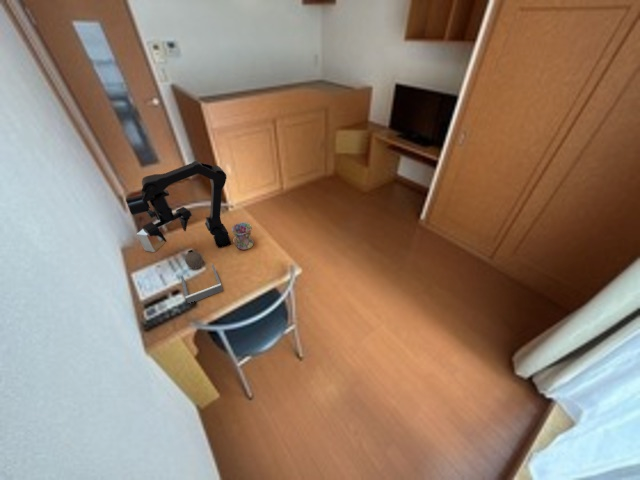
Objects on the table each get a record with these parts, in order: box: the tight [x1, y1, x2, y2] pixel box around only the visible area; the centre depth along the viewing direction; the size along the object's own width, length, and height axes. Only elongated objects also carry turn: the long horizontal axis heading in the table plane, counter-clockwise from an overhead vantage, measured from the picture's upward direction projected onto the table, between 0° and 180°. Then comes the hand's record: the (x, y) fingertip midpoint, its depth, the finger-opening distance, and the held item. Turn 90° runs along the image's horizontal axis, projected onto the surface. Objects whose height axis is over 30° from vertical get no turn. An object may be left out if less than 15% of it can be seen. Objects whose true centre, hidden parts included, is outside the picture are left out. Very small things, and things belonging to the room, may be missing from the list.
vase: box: [185, 249, 204, 270], centre depth 119 cm, size 7×7×9 cm
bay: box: [180, 264, 224, 304], centre depth 111 cm, size 14×14×4 cm
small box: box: [136, 228, 166, 253], centre depth 129 cm, size 8×6×10 cm
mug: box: [231, 222, 255, 251], centre depth 129 cm, size 12×9×11 cm
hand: (175, 236), depth 119 cm, fingers open, 9 cm apart
